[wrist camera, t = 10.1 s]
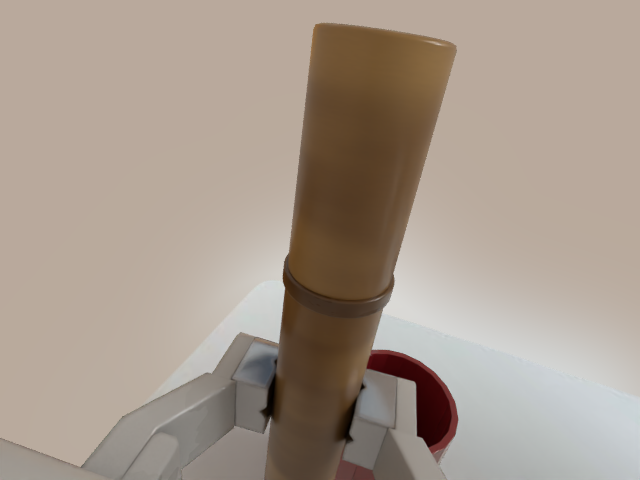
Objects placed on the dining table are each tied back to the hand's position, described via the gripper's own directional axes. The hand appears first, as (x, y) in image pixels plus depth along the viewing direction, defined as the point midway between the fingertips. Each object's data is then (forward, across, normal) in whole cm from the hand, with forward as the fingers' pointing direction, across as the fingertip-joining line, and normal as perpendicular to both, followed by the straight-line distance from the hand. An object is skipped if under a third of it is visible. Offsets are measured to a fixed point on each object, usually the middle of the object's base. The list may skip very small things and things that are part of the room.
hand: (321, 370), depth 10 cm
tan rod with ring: (-1, 0, +12) cm, 13 cm away
